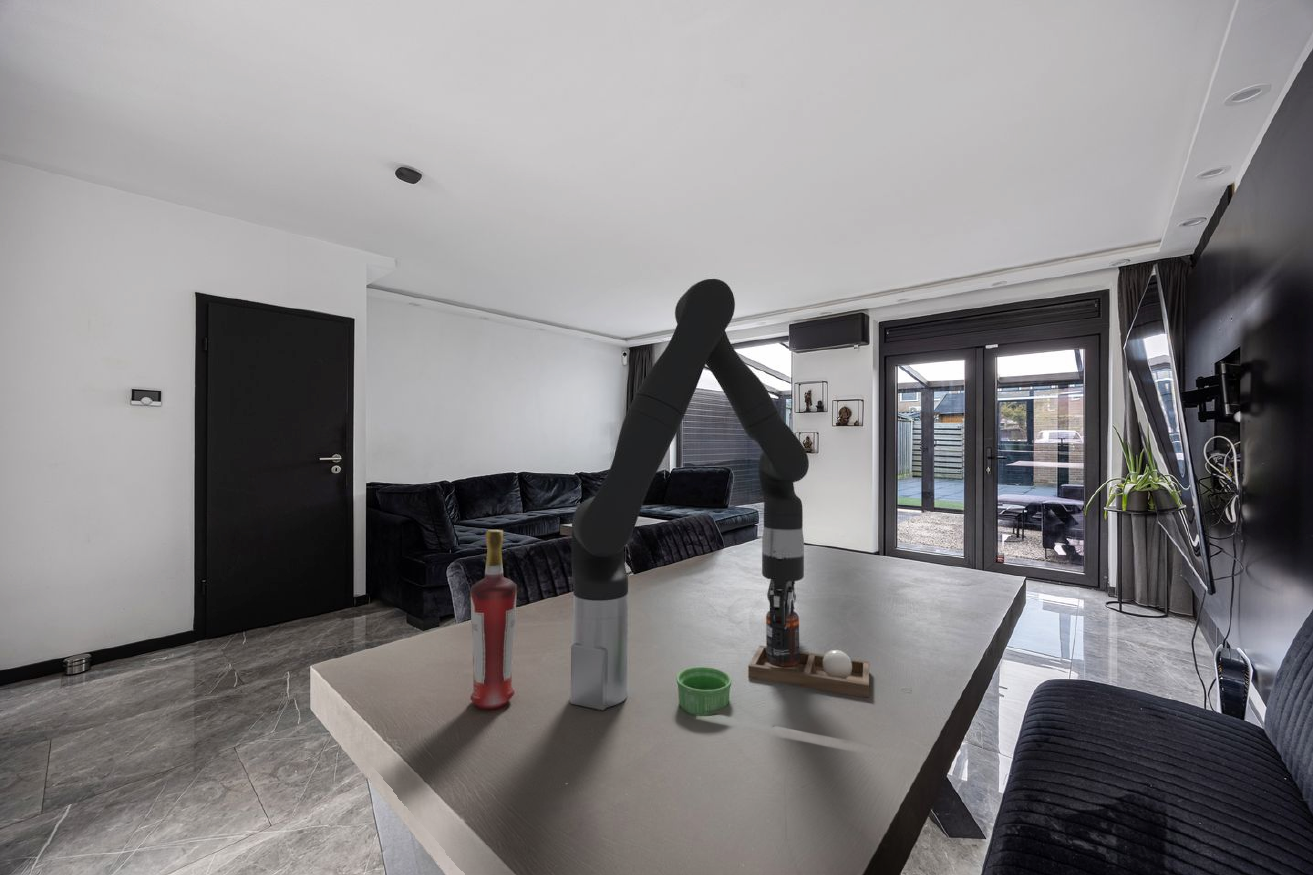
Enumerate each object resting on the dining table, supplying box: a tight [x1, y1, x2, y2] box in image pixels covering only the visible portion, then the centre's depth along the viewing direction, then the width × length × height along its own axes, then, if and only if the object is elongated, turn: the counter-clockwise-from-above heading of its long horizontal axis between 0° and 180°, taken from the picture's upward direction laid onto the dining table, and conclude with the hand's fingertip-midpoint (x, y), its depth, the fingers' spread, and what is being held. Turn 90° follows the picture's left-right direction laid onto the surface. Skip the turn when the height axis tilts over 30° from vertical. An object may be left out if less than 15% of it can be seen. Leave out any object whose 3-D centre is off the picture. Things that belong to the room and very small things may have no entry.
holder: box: [747, 645, 870, 699], centre depth 96 cm, size 10×20×3 cm, turn 68°
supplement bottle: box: [765, 601, 800, 668], centre depth 98 cm, size 6×6×11 cm
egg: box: [822, 649, 852, 679], centre depth 94 cm, size 5×5×5 cm
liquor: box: [469, 529, 518, 711], centre depth 87 cm, size 7×7×28 cm
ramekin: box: [676, 666, 733, 717], centre depth 87 cm, size 9×9×4 cm
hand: (782, 642), depth 98 cm, fingers closed on supplement bottle, 6 cm apart
